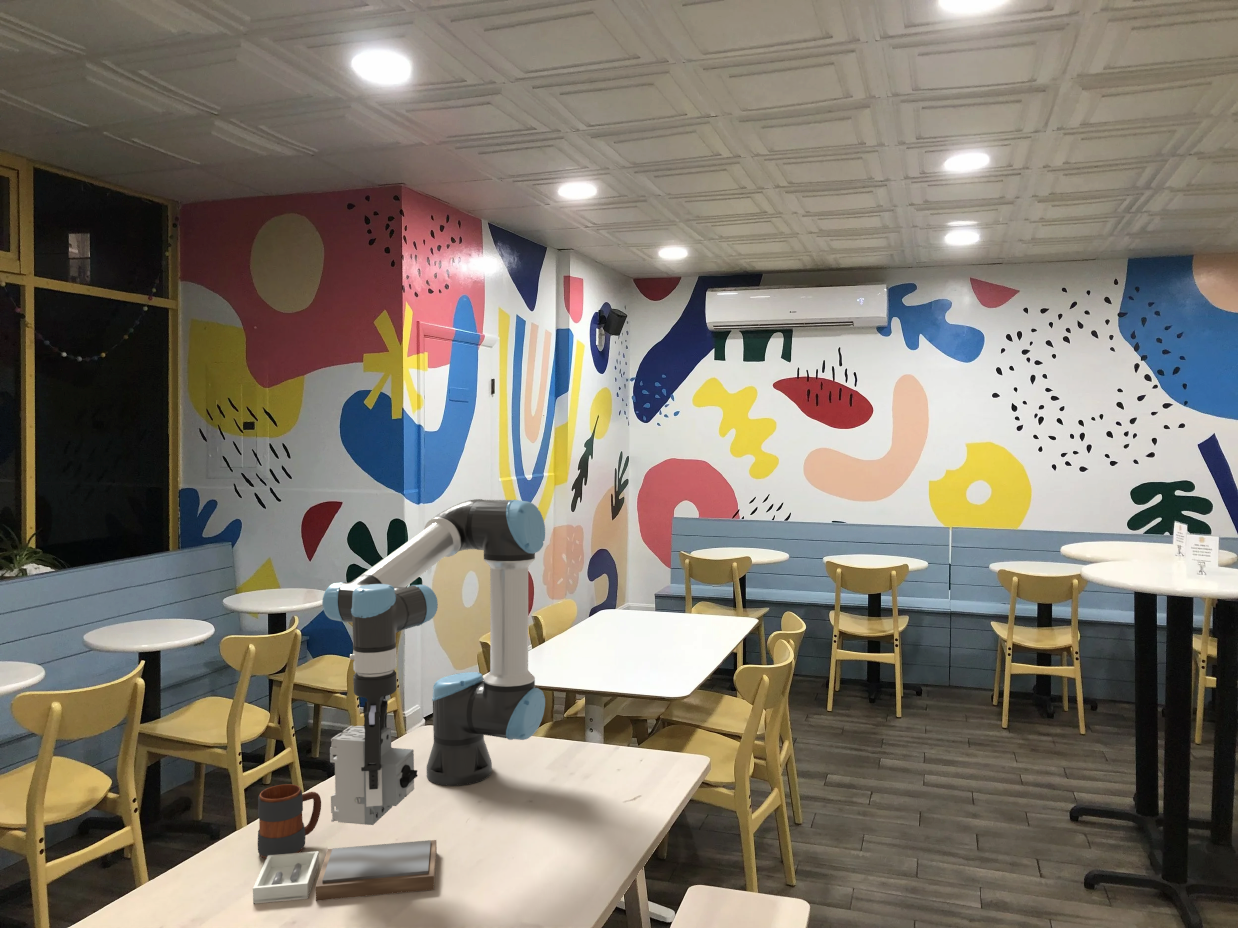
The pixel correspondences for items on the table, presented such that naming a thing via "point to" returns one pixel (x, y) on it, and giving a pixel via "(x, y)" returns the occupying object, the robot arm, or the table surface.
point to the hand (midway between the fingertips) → (377, 793)
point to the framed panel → (377, 870)
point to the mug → (284, 819)
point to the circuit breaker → (353, 780)
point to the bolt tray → (286, 877)
